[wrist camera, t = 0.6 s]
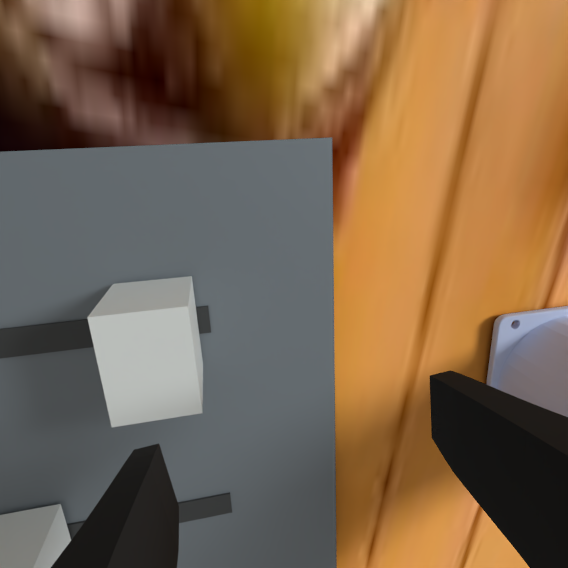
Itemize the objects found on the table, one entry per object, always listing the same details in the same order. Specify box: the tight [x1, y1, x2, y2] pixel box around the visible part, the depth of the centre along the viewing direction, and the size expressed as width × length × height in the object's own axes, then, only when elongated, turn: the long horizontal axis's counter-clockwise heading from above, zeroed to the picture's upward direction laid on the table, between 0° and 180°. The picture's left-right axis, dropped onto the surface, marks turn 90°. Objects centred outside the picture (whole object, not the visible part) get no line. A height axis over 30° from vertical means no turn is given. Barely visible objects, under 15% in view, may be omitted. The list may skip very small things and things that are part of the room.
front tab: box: [87, 276, 203, 427], centre depth 14 cm, size 3×4×4 cm
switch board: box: [0, 138, 336, 568], centre depth 18 cm, size 20×24×1 cm
